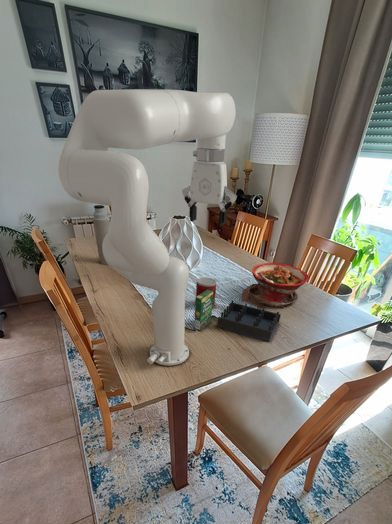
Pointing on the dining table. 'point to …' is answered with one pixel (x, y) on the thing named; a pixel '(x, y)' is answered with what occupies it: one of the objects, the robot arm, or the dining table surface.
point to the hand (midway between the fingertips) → (207, 222)
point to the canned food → (206, 287)
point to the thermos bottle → (100, 229)
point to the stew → (274, 285)
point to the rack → (249, 321)
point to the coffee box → (203, 309)
